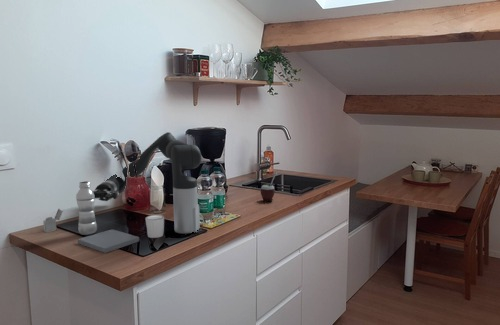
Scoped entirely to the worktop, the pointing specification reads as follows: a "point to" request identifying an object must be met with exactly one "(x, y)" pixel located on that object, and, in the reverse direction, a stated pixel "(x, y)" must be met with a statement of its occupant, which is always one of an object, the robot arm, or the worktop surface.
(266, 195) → the mate gourd
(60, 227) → the worktop surface
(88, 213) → the plastic bottle
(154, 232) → the white cup
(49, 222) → the lighter
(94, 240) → the board
